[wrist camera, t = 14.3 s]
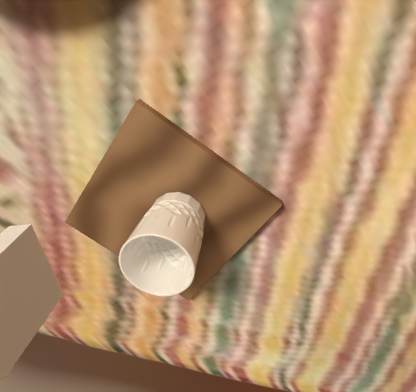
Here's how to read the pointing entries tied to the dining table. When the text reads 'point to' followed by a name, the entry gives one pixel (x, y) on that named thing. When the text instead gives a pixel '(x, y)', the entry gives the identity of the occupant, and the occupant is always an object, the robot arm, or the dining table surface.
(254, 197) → the walnut board
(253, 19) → the dining table surface
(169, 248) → the white cup
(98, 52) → the dining table surface
